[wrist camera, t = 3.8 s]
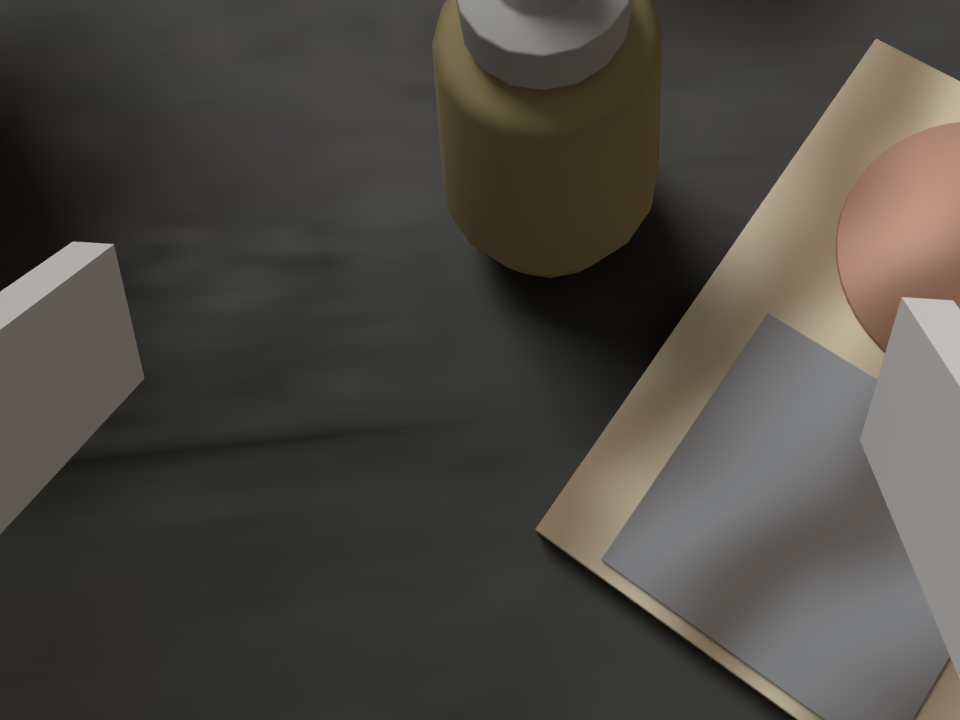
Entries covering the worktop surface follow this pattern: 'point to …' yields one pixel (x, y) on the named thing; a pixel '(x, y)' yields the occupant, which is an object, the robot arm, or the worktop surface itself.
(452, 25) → the squeeze bottle
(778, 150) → the worktop surface
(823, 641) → the board
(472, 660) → the worktop surface
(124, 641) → the worktop surface
